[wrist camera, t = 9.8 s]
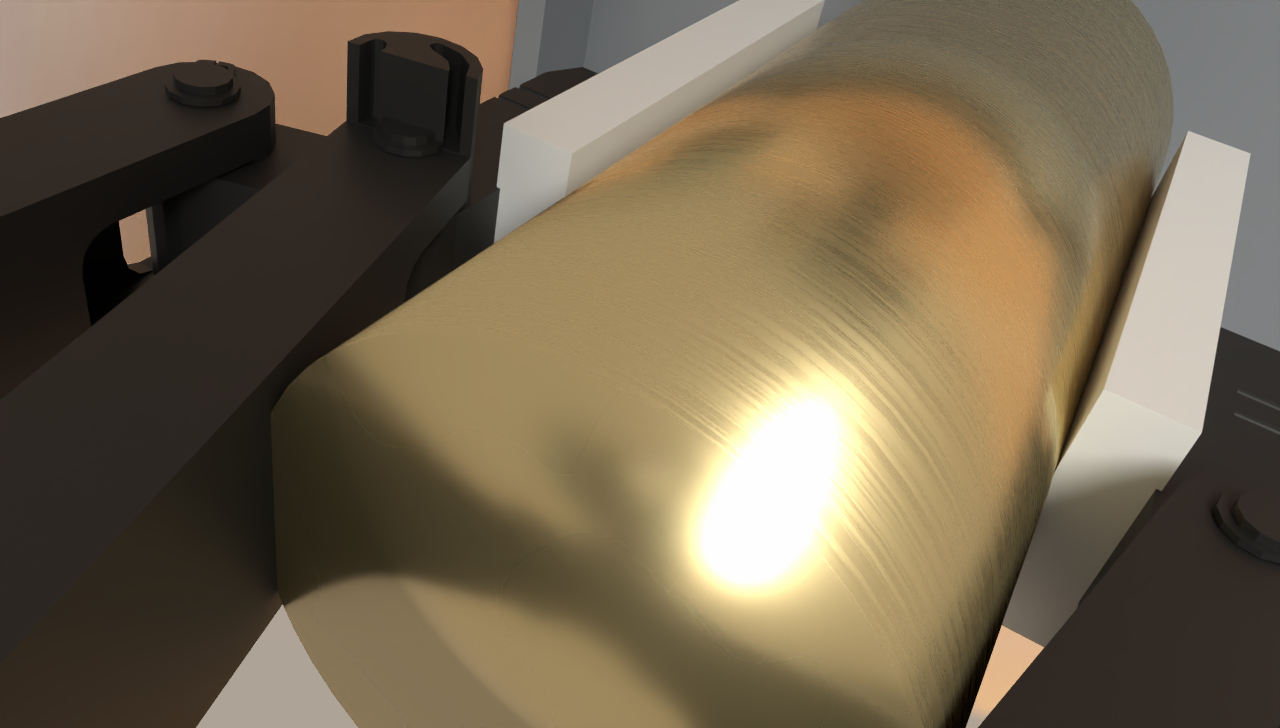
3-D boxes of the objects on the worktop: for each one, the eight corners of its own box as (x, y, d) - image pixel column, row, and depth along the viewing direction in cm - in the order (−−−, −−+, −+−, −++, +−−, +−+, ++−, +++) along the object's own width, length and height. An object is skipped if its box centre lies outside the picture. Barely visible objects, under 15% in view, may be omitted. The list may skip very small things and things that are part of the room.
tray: (691, -731, 16) (606, -784, 14) (2323, -481, 11) (2532, -516, 9) (544, 252, 27) (485, 294, 25) (1313, 621, 21) (1312, 710, 19)
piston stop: (885, -104, 15) (240, 195, 6) (1247, 14, 14) (1089, 629, 5) (790, 202, 18) (266, 699, 9) (1077, 325, 17) (787, 1055, 8)
